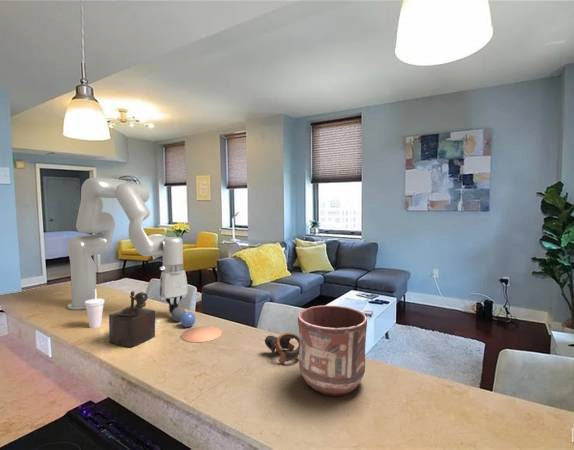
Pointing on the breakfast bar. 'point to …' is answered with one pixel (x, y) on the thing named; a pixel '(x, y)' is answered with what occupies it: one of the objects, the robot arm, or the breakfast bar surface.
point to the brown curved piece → (283, 346)
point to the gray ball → (177, 313)
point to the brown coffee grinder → (132, 323)
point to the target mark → (201, 334)
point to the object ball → (188, 319)
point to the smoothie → (94, 311)
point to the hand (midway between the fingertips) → (173, 313)
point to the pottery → (332, 348)
